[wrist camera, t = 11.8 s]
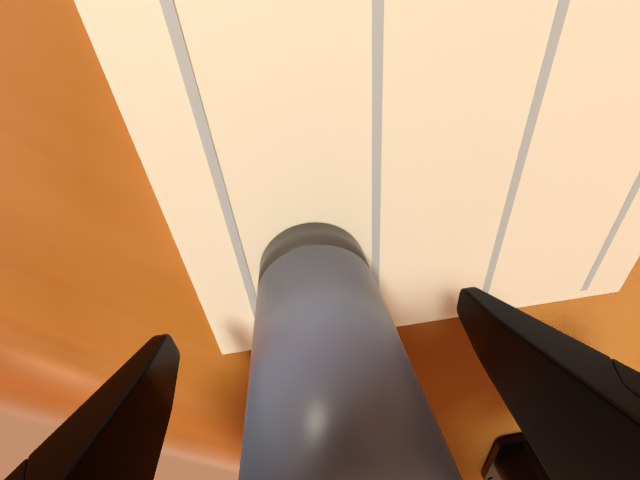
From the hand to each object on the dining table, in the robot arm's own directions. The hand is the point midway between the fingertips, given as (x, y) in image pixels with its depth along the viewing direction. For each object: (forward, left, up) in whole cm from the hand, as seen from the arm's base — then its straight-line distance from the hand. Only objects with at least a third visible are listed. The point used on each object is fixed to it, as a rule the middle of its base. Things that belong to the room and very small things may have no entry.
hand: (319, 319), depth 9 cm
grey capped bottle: (0, 0, -3) cm, 3 cm away
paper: (+3, -5, -3) cm, 6 cm away
